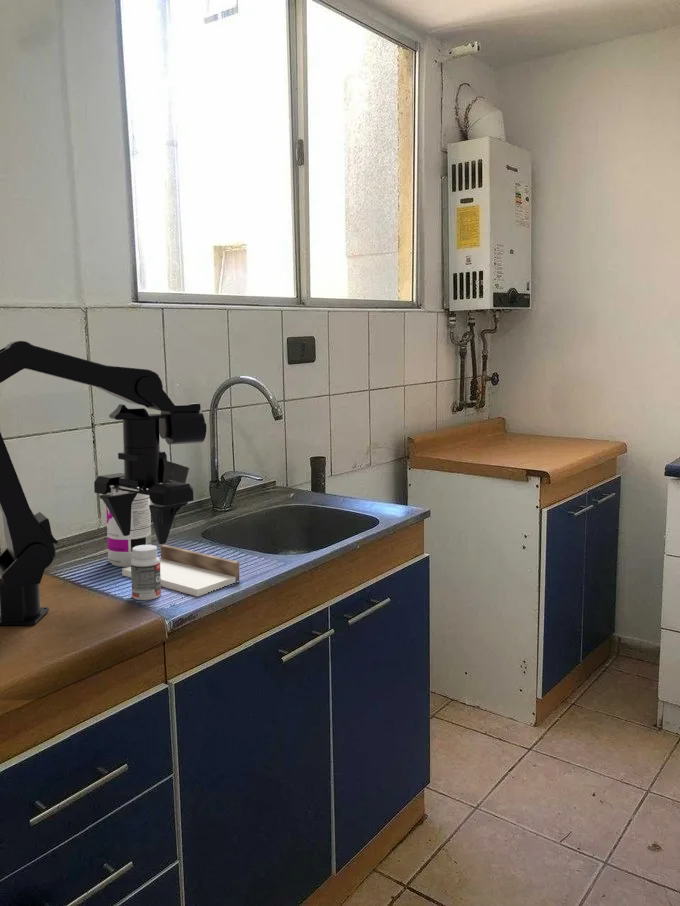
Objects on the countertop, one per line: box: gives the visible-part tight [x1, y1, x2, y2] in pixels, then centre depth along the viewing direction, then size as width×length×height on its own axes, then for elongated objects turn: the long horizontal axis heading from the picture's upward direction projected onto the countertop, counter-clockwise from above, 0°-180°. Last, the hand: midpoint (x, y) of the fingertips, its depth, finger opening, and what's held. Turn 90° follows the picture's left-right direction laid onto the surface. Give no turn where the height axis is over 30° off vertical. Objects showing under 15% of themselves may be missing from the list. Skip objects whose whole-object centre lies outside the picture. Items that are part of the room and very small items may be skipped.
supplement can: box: [105, 487, 152, 568], centre depth 141 cm, size 8×8×15 cm
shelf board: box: [121, 544, 240, 597], centre depth 131 cm, size 20×10×4 cm, turn 54°
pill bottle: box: [131, 544, 162, 601], centre depth 121 cm, size 5×5×8 cm
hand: (144, 539), depth 121 cm, fingers open, 9 cm apart
